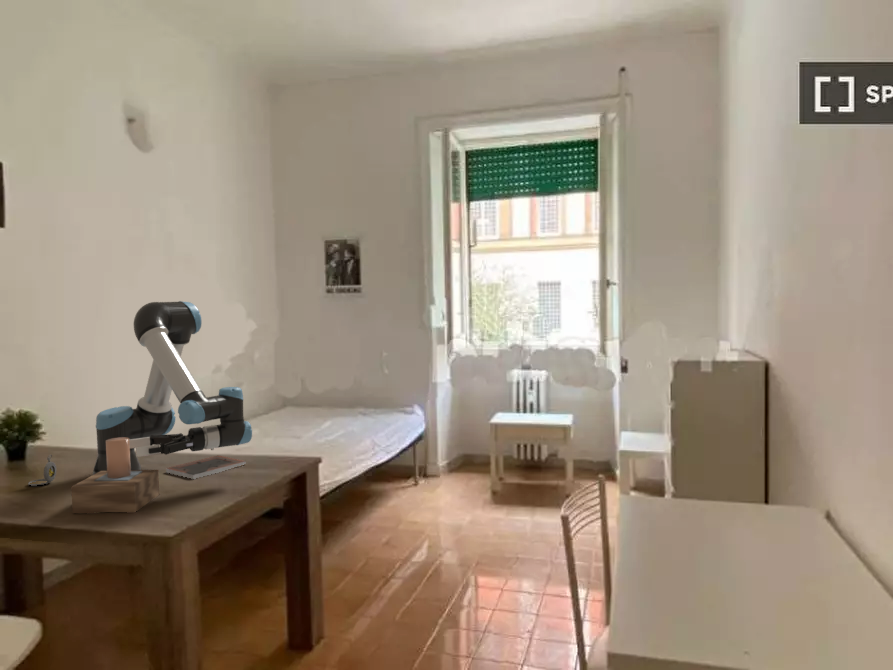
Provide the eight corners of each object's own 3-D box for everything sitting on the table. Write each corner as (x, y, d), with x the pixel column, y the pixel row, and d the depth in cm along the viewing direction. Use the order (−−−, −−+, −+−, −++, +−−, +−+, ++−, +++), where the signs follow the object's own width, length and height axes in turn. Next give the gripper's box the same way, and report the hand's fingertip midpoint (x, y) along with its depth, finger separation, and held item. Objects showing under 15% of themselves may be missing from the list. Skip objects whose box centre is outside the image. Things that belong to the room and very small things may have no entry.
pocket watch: (27, 484, 221) (25, 454, 221) (56, 479, 226) (54, 451, 226) (29, 489, 215) (28, 459, 214) (59, 484, 220) (57, 455, 219)
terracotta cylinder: (113, 472, 202) (112, 437, 201) (134, 472, 202) (133, 437, 202) (103, 478, 196) (101, 442, 195) (125, 478, 196) (123, 441, 195)
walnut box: (102, 495, 206) (100, 469, 206) (159, 494, 207) (158, 468, 206) (72, 513, 189) (71, 485, 189) (135, 512, 190) (134, 484, 189)
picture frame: (193, 481, 223) (245, 467, 241) (193, 474, 223) (245, 460, 241) (166, 474, 233) (218, 461, 250) (165, 467, 233) (218, 454, 250)
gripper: (214, 456, 203) (140, 468, 190) (193, 443, 223) (124, 452, 211) (213, 433, 202) (139, 443, 190) (192, 421, 223) (123, 429, 210)
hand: (131, 448), depth 200 cm, fingers open, 13 cm apart
